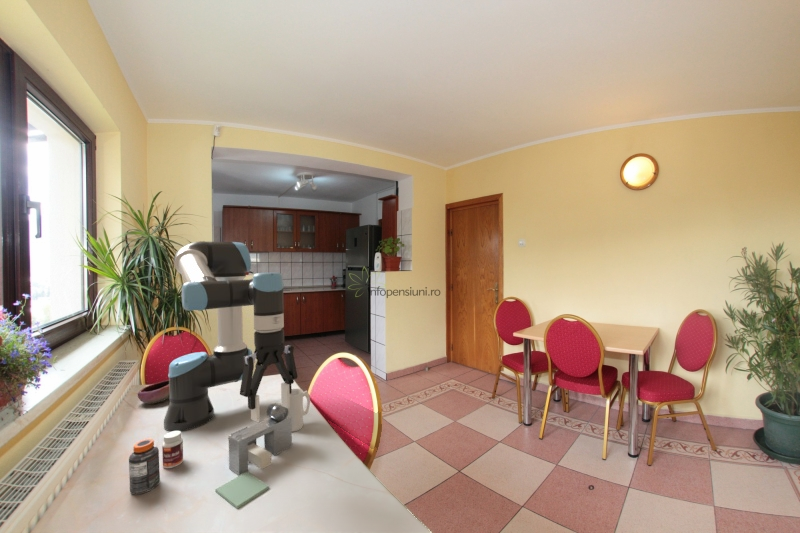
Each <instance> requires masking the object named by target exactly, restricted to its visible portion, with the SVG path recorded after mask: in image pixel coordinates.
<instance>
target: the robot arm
mask: <svg viewBox="0 0 800 533" xmlns="http://www.w3.org/2000/svg"><path fill="white" fill-rule="evenodd" d="M248 248H249V247H247V245H246V244H245V243H244V242H238V241H237V242H236V241H205V240H203V241H201V240H200V241H195V242H191V243H188V244H185V245H184V246H182V247H181V248H179V249H178V250H177V252H176V253H175V254H174V257H173V266H174V268H175V270H176V271H177V272H178V273H179V274H180V275H181V276H182V278H183V280H184V283H183V284H182V286H181V303H182V309H183V310H185V311H189V312H190V311H198V312H200V311H204V310H215V309H216V316H217V321H216V322H217V345H216V346H215V347H214V348H213V354H210V355H209V353H207V352H206V351H200V352H199V351H198V352H192V353H191V352H190V353H188V354H185V355H182V356H179V357H177V358H175V359H173V360H172V361H171V362H170V364H169V365H168V374H167V376H168V380H169V404H168V407H167V410H166V413H165V416H164V419H163V429H164V430H166V429H167V430H166V431H170V432H172V431H181V432H182V431H187V430H192V429H194V428H197V427H200V426H202V425H205V424H207V423H208V422H210V421H211V420H212V419H213V418H214V417H215V408H214V406H213V403H212V401H211V399H210V397H209V389H210V388H213V387H218V386H222V385H223V386H224V385H227V384H231V383H237V382H240V381H241V382H240V389H239V395H240V396H243V397H245V398H247V408H248V409H249V410H250V419H251V420H252V421H255V423H259V421H260V422H261V416H260V414H261V413H260V395H259V394H258V390H259V388H260V385H261V382H262V379H263V376H264V374H265V371H266V370H267V369H268V366H271V365H272V364H273V365H274V364H275V366H276V368H277V370H278V372H279V374H280V376H281V378H282V380H283V382H281V383H280V390H281V405H282V406H283V407H285V408H289V407H290V394H291V392H292V391H291V389H292V385H293V384H294V383H295V380H297V379H298V373H297V372H298V371H297V367H296V362H295V358H294V351H295V350H294V346H293V345H289V344H284V343H285V330H284V327H285V323H284V322H285V321H284V320H285V319H284V317H285V316H284V314H285V312H284V287H285V286H284V280H283V279H284V278H283V274H282V273H280V272H257V273H255V274H253V276H252V278H249V279H245V278H246V277H247V274H246V273H249V272H250V271H251V269H252V260H251V259H252V258H251V254H250V251H249V249H248ZM247 306H248V307H249V306H253V330H255V331H254V333H253V338H254V340H253V341H254V342H253V343H254V352H253V351H252V349H251V348H248V344H247V343H245V342H244V338H243V337H244V333H243V332H244V330H243V326H244V325H243V307H247ZM283 354H284V358H283V356H282V355H283ZM255 360H256V361H255ZM255 362H256V363H255ZM285 363H286V364H285ZM254 365H255V366H254ZM254 367H255V369H254Z"/></svg>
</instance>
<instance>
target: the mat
mask: <svg viewBox="0 0 800 533" xmlns="http://www.w3.org/2000/svg"><path fill="white" fill-rule="evenodd" d="M269 489H270V485H268V484H267V483H265V482H263V481H262V480H260V479H259V478H257V476H254V475H253V474H251V473H249V471H247V472H245V473H243V474H241V475H240V476H239V475H237V477H234V478H233V479H231V480H230V481H228V482H225V483H224V484H222V485H221V486H219V487H217V488H216V489H215V493H217V494H218V495H219V496H220V497H221V498H222V499H224V500H225V501H227V503H228V504H231V505H232V506H233V507H234V508H235V509H237V510H238V509H240V508H241V507H242V506H244V505H245V504H247V503H248V502H251V501H252V500H253V499H254V498H256V497H257V496H259V495H261V494H263V493H264V492H265V491H267V490H269Z"/></svg>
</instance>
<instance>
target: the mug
mask: <svg viewBox="0 0 800 533" xmlns="http://www.w3.org/2000/svg"><path fill="white" fill-rule="evenodd" d="M291 391H292V392H291V394H290V407H289V408H288V415H289V416H291V421H292V432H297V431H299V430H301V429H302V428H303V427H304V416H305V415H308V413H309V409H310V405H311V398H310V394H309V393H308V392H309V391H308V390H303V389H302V388H291ZM304 397H305V398H306V405H305V408H304Z"/></svg>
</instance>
